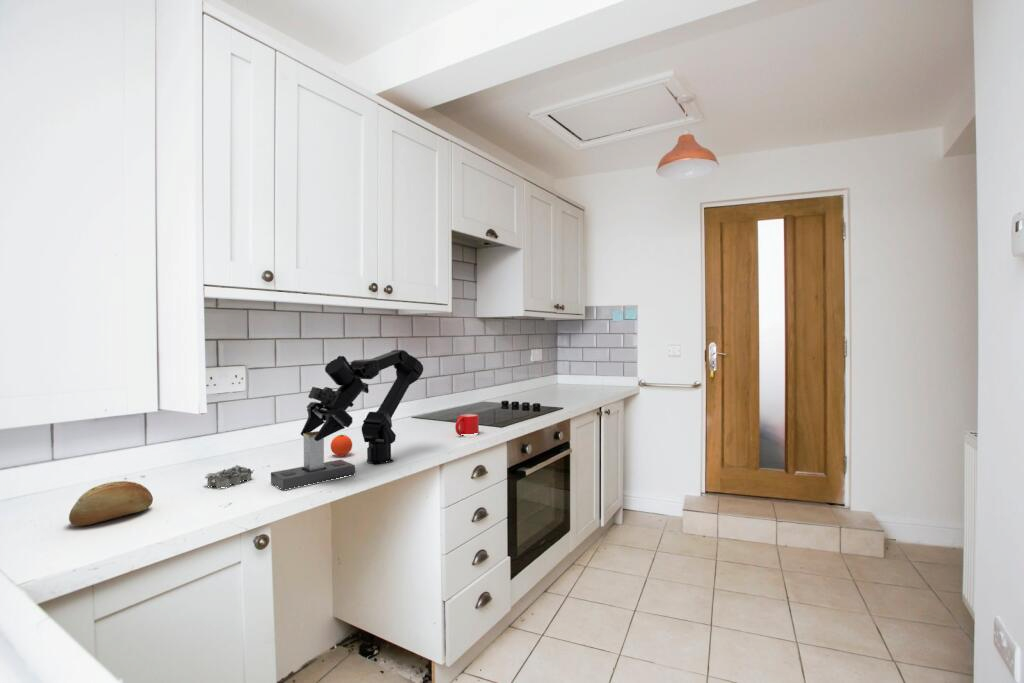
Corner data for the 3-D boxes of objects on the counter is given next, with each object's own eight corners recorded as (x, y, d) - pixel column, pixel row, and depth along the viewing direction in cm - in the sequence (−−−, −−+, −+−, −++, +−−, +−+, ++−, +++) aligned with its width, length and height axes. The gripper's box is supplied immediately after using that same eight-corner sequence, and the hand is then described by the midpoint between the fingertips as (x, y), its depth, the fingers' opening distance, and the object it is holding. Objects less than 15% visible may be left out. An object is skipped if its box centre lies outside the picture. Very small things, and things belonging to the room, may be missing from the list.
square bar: (318, 476, 143) (317, 431, 143) (324, 479, 140) (324, 433, 140) (303, 479, 140) (303, 433, 140) (309, 482, 137) (309, 435, 137)
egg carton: (220, 491, 130) (220, 475, 130) (202, 487, 134) (201, 472, 133) (256, 480, 140) (256, 465, 140) (238, 476, 143) (238, 462, 143)
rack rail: (340, 469, 150) (340, 459, 150) (354, 475, 144) (354, 464, 144) (270, 483, 136) (270, 472, 136) (283, 490, 130) (283, 479, 130)
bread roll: (161, 512, 114) (161, 478, 114) (77, 534, 102) (77, 495, 102) (144, 504, 120) (144, 471, 120) (63, 524, 107) (62, 487, 107)
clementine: (328, 453, 170) (328, 433, 169) (350, 451, 173) (349, 431, 173) (332, 459, 162) (331, 437, 162) (354, 456, 166) (353, 435, 165)
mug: (448, 436, 198) (448, 417, 197) (466, 431, 208) (466, 412, 208) (464, 439, 193) (464, 418, 193) (482, 433, 204) (482, 414, 203)
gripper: (313, 374, 149) (274, 415, 141) (341, 378, 135) (301, 424, 128) (338, 398, 154) (302, 439, 147) (368, 404, 141) (330, 449, 133)
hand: (308, 437), depth 139 cm, fingers open, 9 cm apart
